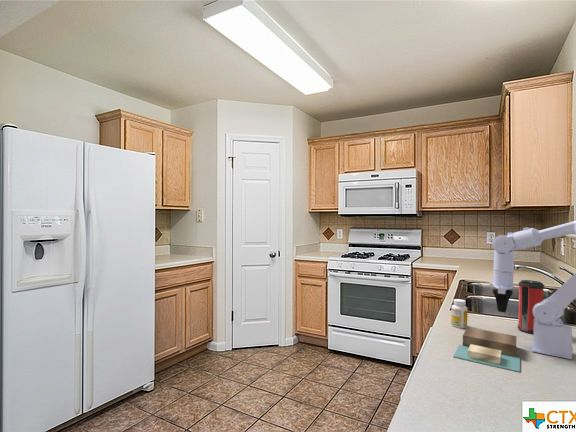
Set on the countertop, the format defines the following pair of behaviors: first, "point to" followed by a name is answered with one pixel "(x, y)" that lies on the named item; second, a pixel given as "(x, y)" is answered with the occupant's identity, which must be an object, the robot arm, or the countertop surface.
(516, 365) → the mat
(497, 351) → the maple block
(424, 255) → the countertop surface
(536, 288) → the speaker
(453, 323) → the supplement bottle
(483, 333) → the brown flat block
